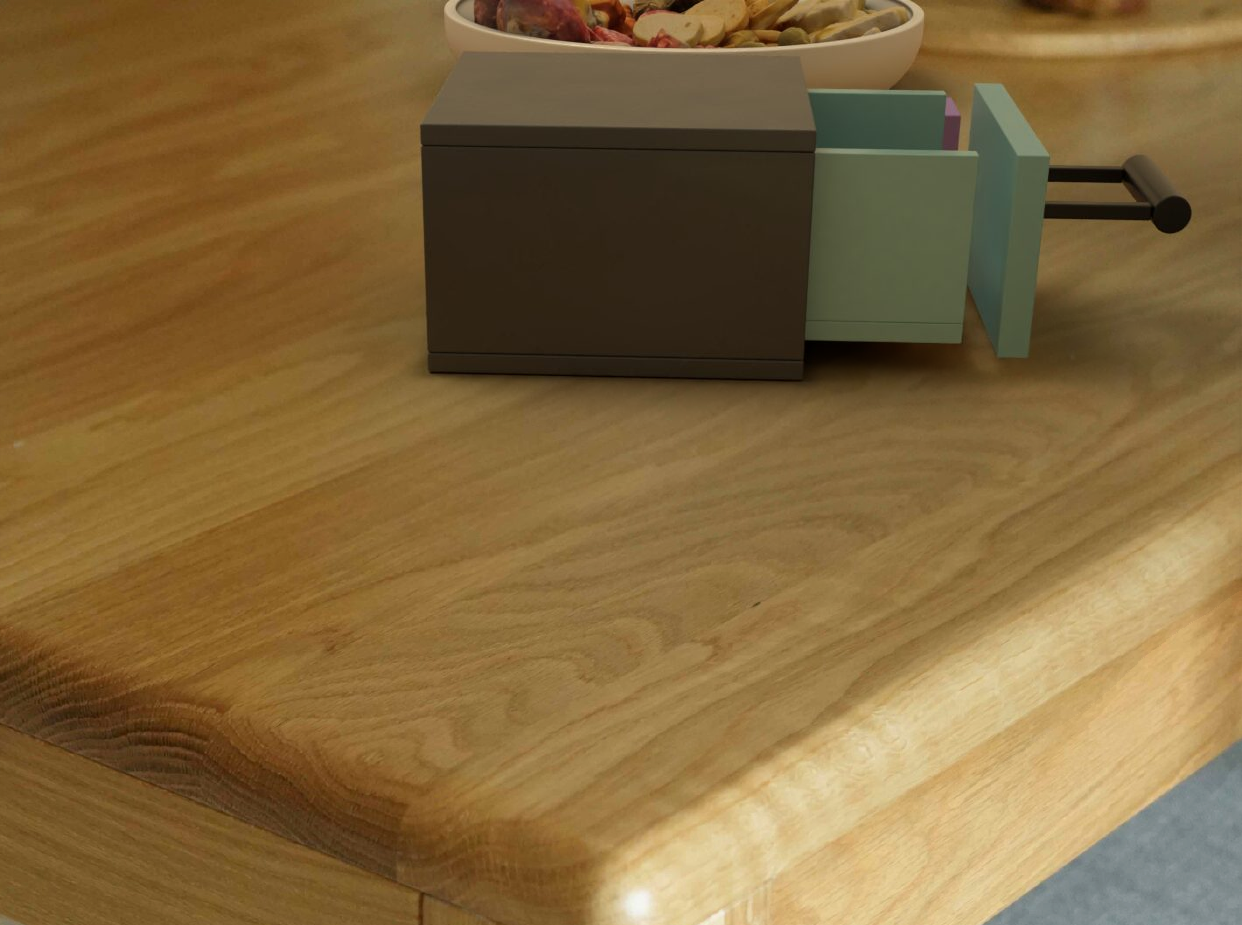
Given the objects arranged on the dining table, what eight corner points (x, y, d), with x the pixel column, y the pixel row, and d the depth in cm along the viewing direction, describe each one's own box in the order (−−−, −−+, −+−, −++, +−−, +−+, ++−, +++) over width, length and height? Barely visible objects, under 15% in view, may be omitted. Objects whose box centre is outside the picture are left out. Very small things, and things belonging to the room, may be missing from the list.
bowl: (688, 28, 146) (691, -86, 143) (1016, 93, 126) (1029, -38, 123) (352, 80, 129) (346, -48, 125) (671, 165, 109) (675, 15, 105)
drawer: (1126, 264, 89) (1150, 85, 85) (1191, 362, 77) (1222, 158, 73) (681, 255, 90) (686, 78, 86) (678, 350, 78) (683, 149, 74)
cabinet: (788, 273, 90) (800, 55, 86) (802, 380, 77) (817, 130, 73) (467, 267, 91) (462, 50, 87) (427, 372, 78) (419, 123, 74)
